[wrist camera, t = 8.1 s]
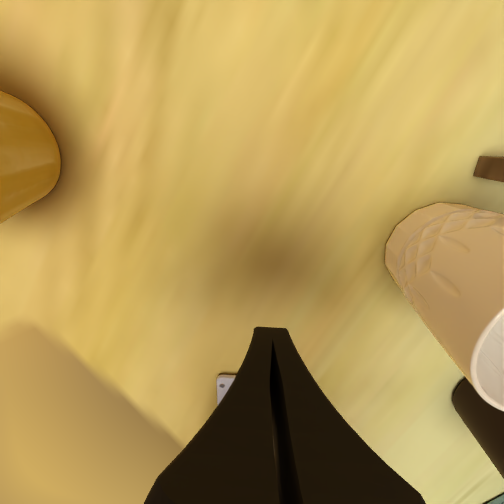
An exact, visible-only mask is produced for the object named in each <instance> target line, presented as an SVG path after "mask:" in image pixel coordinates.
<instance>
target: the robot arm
mask: <svg viewBox="0 0 504 504" xmlns="http://www.w3.org/2000/svg"><path fill="white" fill-rule="evenodd" d="M217 404H218V406H217V408H216V409H215V410H214V412H213V413H212V415H211V416H210V417H209V419H208V420H207V421H206V423H205V424H204V425H203V427H202V428H201V429H200V430H199V431H198V433H197V434H196V435H195V436H194V437H193V439H192V440H191V441H190V442H189V444H188V445H187V446H186V447H185V448H184V449H183V450H182V452H181V453H180V454H179V455H178V456H177V457H176V458H175V459H174V460H173V461H172V462H171V463H170V465H168V466H167V467H166V469H165V470H164V471H163V472H162V473H161V474H160V475H159V476H158V478H157V479H156V481H155V483H154V485H153V486H152V488H151V490H150V492H149V494H148V496H147V498H146V500H145V502H144V504H426V503H425V501H424V499H423V498H422V496H421V494H420V493H419V492H418V491H416V490H415V489H414V488H413V487H412V486H411V485H410V484H409V483H407V482H406V481H405V480H404V479H403V478H402V477H401V476H399V475H398V474H397V473H396V472H395V471H394V470H393V469H392V468H390V467H389V466H388V465H387V464H386V463H385V462H384V461H383V460H382V459H381V458H380V457H379V456H378V455H377V454H376V453H375V452H374V451H373V450H372V449H371V448H370V447H369V446H368V445H367V444H366V443H365V442H364V441H363V440H362V438H361V437H360V436H359V435H358V434H357V433H356V432H355V431H354V430H353V429H352V428H351V427H350V426H349V424H348V423H347V422H346V421H345V420H344V419H343V417H342V416H341V415H340V414H339V413H338V411H337V410H336V409H335V408H334V406H333V405H332V404H331V402H330V401H329V400H328V399H327V397H326V396H325V395H324V393H323V392H322V390H321V389H320V388H319V386H318V385H317V383H316V382H315V380H314V379H313V377H312V375H311V374H310V372H309V371H308V369H307V367H306V366H305V364H304V362H303V361H302V359H301V357H300V355H299V353H298V352H297V350H296V348H295V346H294V344H293V342H292V339H291V337H290V335H289V332H288V330H287V329H286V328H271V327H256V328H254V333H253V337H252V341H251V344H250V346H249V349H248V352H247V354H246V356H245V359H244V361H243V363H242V365H241V367H240V369H239V371H238V373H237V375H219V376H218V377H217Z"/></svg>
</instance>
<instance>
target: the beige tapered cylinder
mask: <svg viewBox="0 0 504 504" xmlns="http://www.w3.org/2000/svg"><path fill="white" fill-rule="evenodd" d="M385 265H386V267H387V269H388V271H389V272H390V274H391V276H392V278H393V280H394V281H395V282H396V284H397V285H398V286H399V287H400V288H401V290H402V292H403V294H404V296H405V297H406V299H407V300H408V301H409V303H410V304H411V305H412V307H413V308H414V309H415V311H416V312H417V314H418V315H419V316H420V318H421V319H422V320H423V322H424V324H425V325H426V326H427V328H428V329H429V330H430V332H431V333H432V334H433V335H434V337H435V338H436V339H437V341H438V342H439V343H440V344H441V346H442V347H443V348H444V350H445V351H446V352H447V353H448V355H449V356H450V357H451V359H452V360H453V361H454V363H455V364H456V365H457V366H458V368H459V369H460V370H461V372H462V373H463V374H464V376H465V377H466V378H467V379H468V381H469V382H470V383H471V385H472V386H473V387H474V389H475V390H476V391H477V393H478V394H479V395H480V396H481V397H482V398H483V399H484V400H485V401H486V402H487V403H489V404H490V405H492V406H493V407H495V408H497V409H499V410H501V411H504V214H501V213H497V212H492V211H487V210H480V209H476V208H473V207H470V206H466V205H463V204H452V203H436V204H433V205H430V206H427V207H424V208H421V209H418V210H415V211H414V212H413V213H411V214H410V215H409V216H408V217H406V218H405V219H404V220H403V221H402V222H400V223H399V224H398V225H397V226H396V227H395V229H394V231H393V233H392V235H391V236H390V238H389V240H388V242H387V244H386V251H385Z"/></svg>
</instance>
